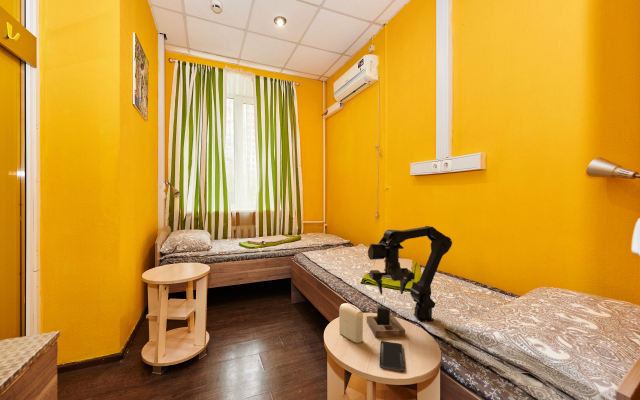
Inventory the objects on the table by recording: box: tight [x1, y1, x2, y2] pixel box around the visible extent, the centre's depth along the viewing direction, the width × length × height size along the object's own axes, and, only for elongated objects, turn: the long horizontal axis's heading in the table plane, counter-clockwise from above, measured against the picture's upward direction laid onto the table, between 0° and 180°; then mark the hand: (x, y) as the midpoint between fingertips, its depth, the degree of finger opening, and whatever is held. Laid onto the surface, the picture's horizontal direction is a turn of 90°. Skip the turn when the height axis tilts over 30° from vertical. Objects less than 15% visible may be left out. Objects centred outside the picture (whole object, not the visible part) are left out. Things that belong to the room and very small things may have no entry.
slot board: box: [365, 314, 406, 339], centre depth 104 cm, size 12×12×2 cm
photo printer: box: [338, 302, 364, 344], centre depth 98 cm, size 10×4×12 cm, turn 39°
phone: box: [378, 340, 406, 373], centre depth 86 cm, size 8×1×15 cm
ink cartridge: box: [376, 305, 391, 325], centre depth 106 cm, size 5×2×8 cm, turn 65°
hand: (391, 294), depth 111 cm, fingers open, 9 cm apart
